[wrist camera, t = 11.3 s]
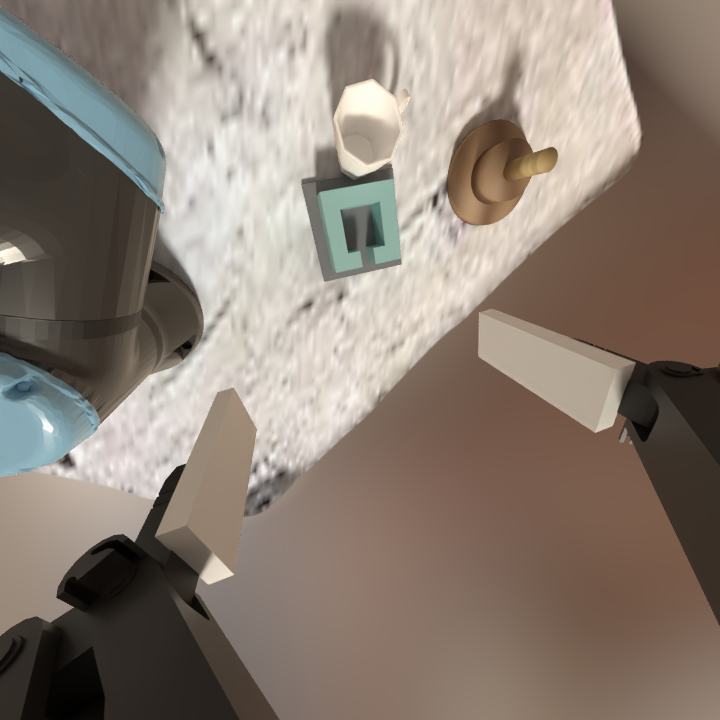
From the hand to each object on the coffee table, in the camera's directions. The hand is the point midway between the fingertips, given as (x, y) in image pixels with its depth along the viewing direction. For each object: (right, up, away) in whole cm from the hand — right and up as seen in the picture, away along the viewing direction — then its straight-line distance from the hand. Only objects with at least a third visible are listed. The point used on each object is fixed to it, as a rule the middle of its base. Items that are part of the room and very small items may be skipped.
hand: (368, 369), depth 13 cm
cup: (0, +27, +19) cm, 33 cm away
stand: (+18, +27, +24) cm, 40 cm away
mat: (-1, +19, +22) cm, 29 cm away
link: (-1, +19, +22) cm, 29 cm away
